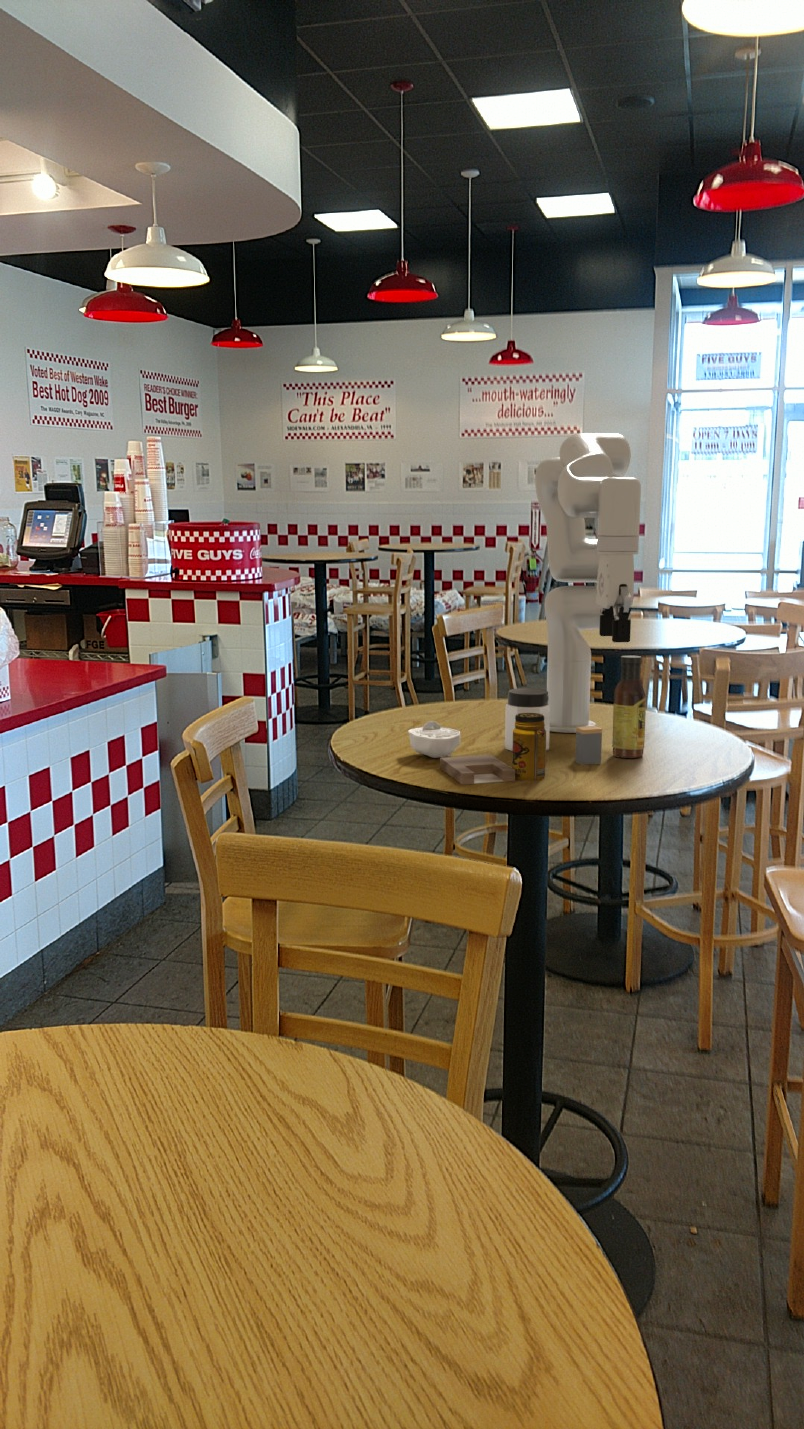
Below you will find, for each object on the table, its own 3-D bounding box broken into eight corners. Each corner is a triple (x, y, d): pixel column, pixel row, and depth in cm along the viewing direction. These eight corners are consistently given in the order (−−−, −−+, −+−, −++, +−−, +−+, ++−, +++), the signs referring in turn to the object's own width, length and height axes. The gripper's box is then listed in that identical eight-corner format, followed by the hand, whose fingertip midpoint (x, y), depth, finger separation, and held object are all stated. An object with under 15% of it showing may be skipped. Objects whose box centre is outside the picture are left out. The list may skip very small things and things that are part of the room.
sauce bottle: (644, 760, 208) (648, 658, 204) (611, 758, 209) (615, 658, 205) (643, 752, 214) (647, 654, 210) (611, 751, 215) (615, 653, 212)
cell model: (415, 764, 205) (415, 729, 203) (403, 751, 216) (403, 718, 215) (467, 762, 206) (467, 727, 205) (452, 749, 218) (452, 716, 217)
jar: (556, 751, 215) (557, 693, 213) (521, 755, 212) (522, 696, 210) (531, 743, 223) (533, 686, 221) (498, 747, 220) (499, 689, 217)
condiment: (502, 779, 194) (503, 715, 192) (527, 771, 201) (529, 708, 199) (536, 786, 190) (537, 720, 188) (561, 777, 196) (563, 713, 194)
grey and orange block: (575, 761, 207) (576, 726, 206) (594, 760, 208) (595, 725, 207) (581, 764, 204) (582, 729, 203) (600, 763, 205) (602, 728, 204)
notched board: (440, 768, 201) (440, 757, 201) (490, 764, 204) (490, 754, 204) (462, 784, 189) (462, 773, 189) (515, 780, 192) (515, 769, 191)
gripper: (586, 544, 204) (584, 633, 207) (608, 547, 187) (605, 644, 190) (625, 544, 204) (622, 633, 207) (651, 547, 187) (647, 644, 190)
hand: (614, 638), depth 199 cm, fingers open, 9 cm apart
